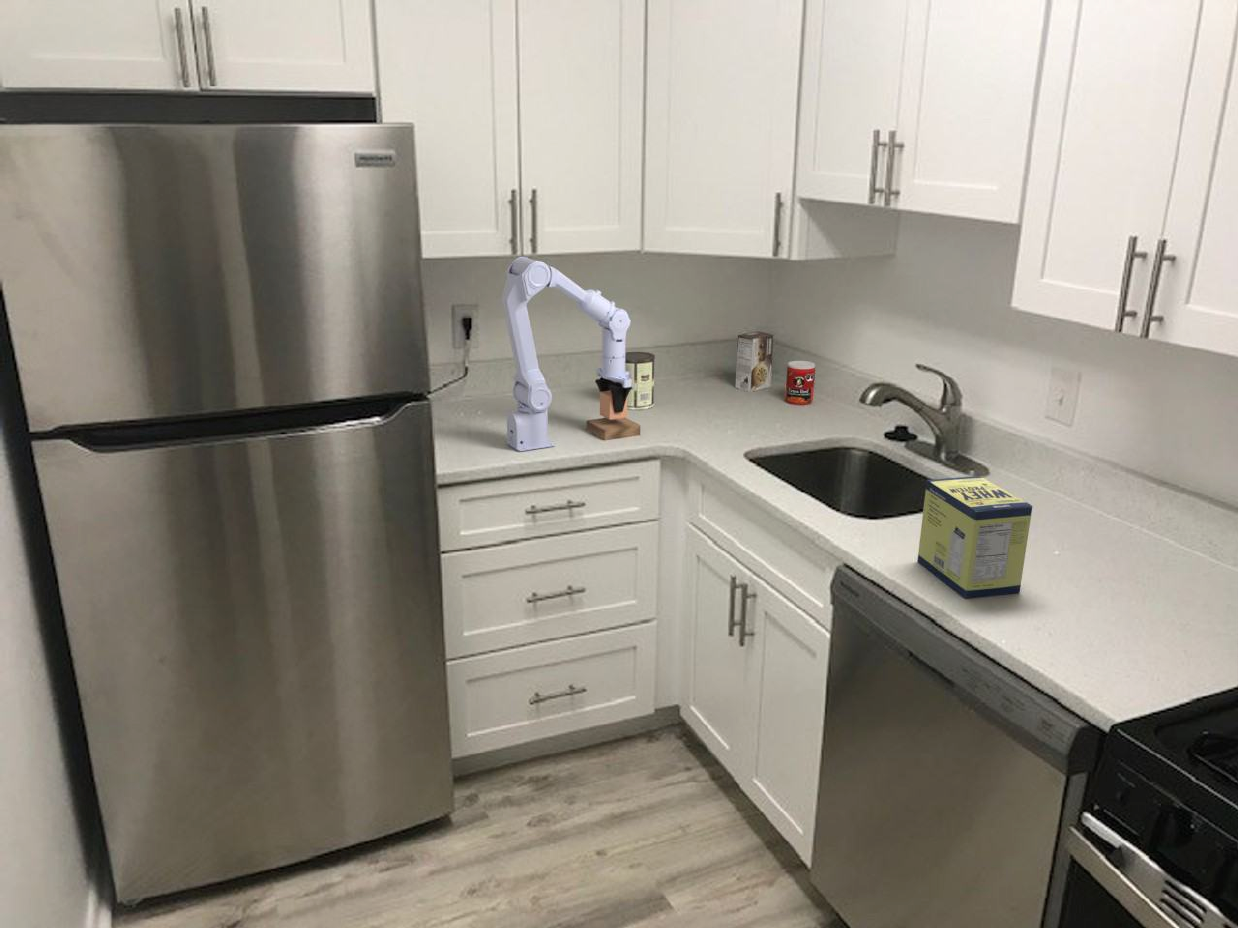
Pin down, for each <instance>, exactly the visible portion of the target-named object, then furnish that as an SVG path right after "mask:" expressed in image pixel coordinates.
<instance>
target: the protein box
mask: <svg viewBox="0 0 1238 928" xmlns="http://www.w3.org/2000/svg"><path fill="white" fill-rule="evenodd" d="M922 509H923V510H922V518H921V524H920V525H921V528H920V536H919V543H918V551H917V561H918V562H917V561H916V562H917V563H919V565H920V566H922V567H924V568H925V569H926V568H927V569H926V570H927V571H929V572H930V573H931V572H932V574H933V575H934V576H935V577H936V578H938V579H939V580H941V581H942V582H943V583H944V584H946V586H948V587H949V588H950V589H952V590H953V591H954V590H955V591H954V592H956V594H960V595H959V596H961V597H962V598H963V599H972V598H973V599H974V598H980V597H981V598H982V597H992V596H998V595H1008V594H1018V593H1020V592H1021V586H1022V581H1023V580H1022V578H1023V572H1024V566H1025V559H1026V552H1027V546H1028V544H1027V543H1028V538H1029V534H1030V533H1029V532H1030V525H1031V520H1032V512H1033V505H1032V504H1030V503H1028V502H1027V501H1025V500H1023V499H1021V498H1020V497H1018V496H1015V494H1012V493H1010V492H1009V491H1006V490H1005V489H1003V488H1001V487H1000V486H997V485H996V484H995V483H992V482H991V481H988V480H987V479H986V478H984V477H982V476H980V475H974V476H973V475H972V476H971V475H970V476H960V477H950V478H949V477H948V478H937V479H936V478H935V479H934V478H933V479H926V486H925V494H924V500H923V508H922Z"/></svg>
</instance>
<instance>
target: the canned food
mask: <svg viewBox="0 0 1238 928" xmlns="http://www.w3.org/2000/svg"><path fill="white" fill-rule="evenodd" d="M815 376H816V363H814V362H812V361H808V360H793V361H789V362H788V363H787V367H786V383H785V385H786V386H785V396H784V397H785V398H784V399H785V402H786V403H788V404H789V405H793V406H806V405H811V404H812V403H813V400H814V391H815V390H814V387H815V378H816V377H815Z"/></svg>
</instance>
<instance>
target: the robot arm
mask: <svg viewBox="0 0 1238 928" xmlns="http://www.w3.org/2000/svg"><path fill="white" fill-rule="evenodd" d="M546 287H547V288H554V289H556V290H558V291H559V292H561V293H562V294H564V295H565V296H567V297H569V298H570V299H572V300H573V301H575V302H576V304H577V308H578V310H579V311H580V312H582V313H583V314H585V315H586V316H588V317H590V318H591V319H592V320H594V321H595V322H597V324H598V325H599V326H600V328H601V329H602V330H601V332H602V334H601V336H602V337H601V340H602V341H601V342H602V343H601V349H602V350H601V367H596V376H597V377H599V378H596V379H595V381H594V382H595V384H596V386H597V387H598V391H599V393H600V392H602V391H609V390H610V391H611V394H612V399H613V407H614V412H615V413H618V412H623V409H624V405H625V401H626V398H627V396H628V394H629V392H630V390H631V389H632V385H631V383H632V379H630V378H629V377H628V376H627V375H629V372H627V371H625V352H626V345H627V344H626V339H627V330H628V329H629V328H630V325H631V321H632V320H631V319H630V318H629V317H630V316H629V315H628V312H627V311H626V310H625V309H622V308H621V307H620V308H619V307H616V302H615V301H613V300H610V301H609V300H608V299H606V297H604V296H602V295H601V294H602V291H600V290H598V289H587V290H586V289H583V288H582V287H580V286H579V285H578V284H577V283H575V282H574V281H573V280H572V279H570V278H569V277H567V276H566V275H565V274H564V273H562V272H561V271H560V270H558V269H556V268H555V267H552V266H550V265H548V264H546V263H545V262H543V261H541V260H535V259H530V258H529V257H527V256H520V257H517V258H516V259H514V260H513V261H512V263H511V264H510V265H509V266H508V267H507V269H506V280H505V283H504V288H503V292H502V295H501V302H502V309H503V313H504V317H505V321H506V326H507V332H508V336H509V340H510V341H509V342H510V345H511V350H512V356H513V360H514V365H515V370H516V372H515V373H514V375H513V381H514V382H513V388H512V395H513V397H514V399H515V400H516V401H517V404H516V405H517V407H516V408H517V409H516V410H515V409H514V410H513V411H510V412H508V414H507V416H506V436H507V437H506V439H507V440H506V441H505V443H506V444H507V445H509V446H510V447H512V448H513V449H515V450H516V451H518V452H523V451H524V452H525V451H531V450H538V449H544V448H550V447H555V445H556V444H555V443H554V442H552V441H550V440H549V422H548V421H549V416H548V415H549V414H548V413H549V411H548V409H549V407H550V405H551V404H552V400H553V394H552V391H551V390H550V388H549V387H548V386H547V382H546V379H545V377H544V375H543V374H542V372H541V370H540V367H539V362H538V357H537V352H536V346H535V341H534V337H533V336H534V335H533V332H532V326H531V322H530V317H529V312H528V307H527V306H528V305H527V304H528V303H529V302H530V301H531V299H533V297H534V296H535V295H536V294H538V293H539V292H540V291H542V290H543V289H544V288H546Z"/></svg>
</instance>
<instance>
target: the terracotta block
mask: <svg viewBox="0 0 1238 928" xmlns="http://www.w3.org/2000/svg"><path fill="white" fill-rule="evenodd" d="M599 416H601V417H602V418H607V419H609V420H611V419H618V418H624V417H625V418H628V409H627V398H626V401H625V405H624V409H623V412H618V413H615V412H614V407H613V399H612V394H611V391H610V390H609V391H602V392H600V391H599Z"/></svg>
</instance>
